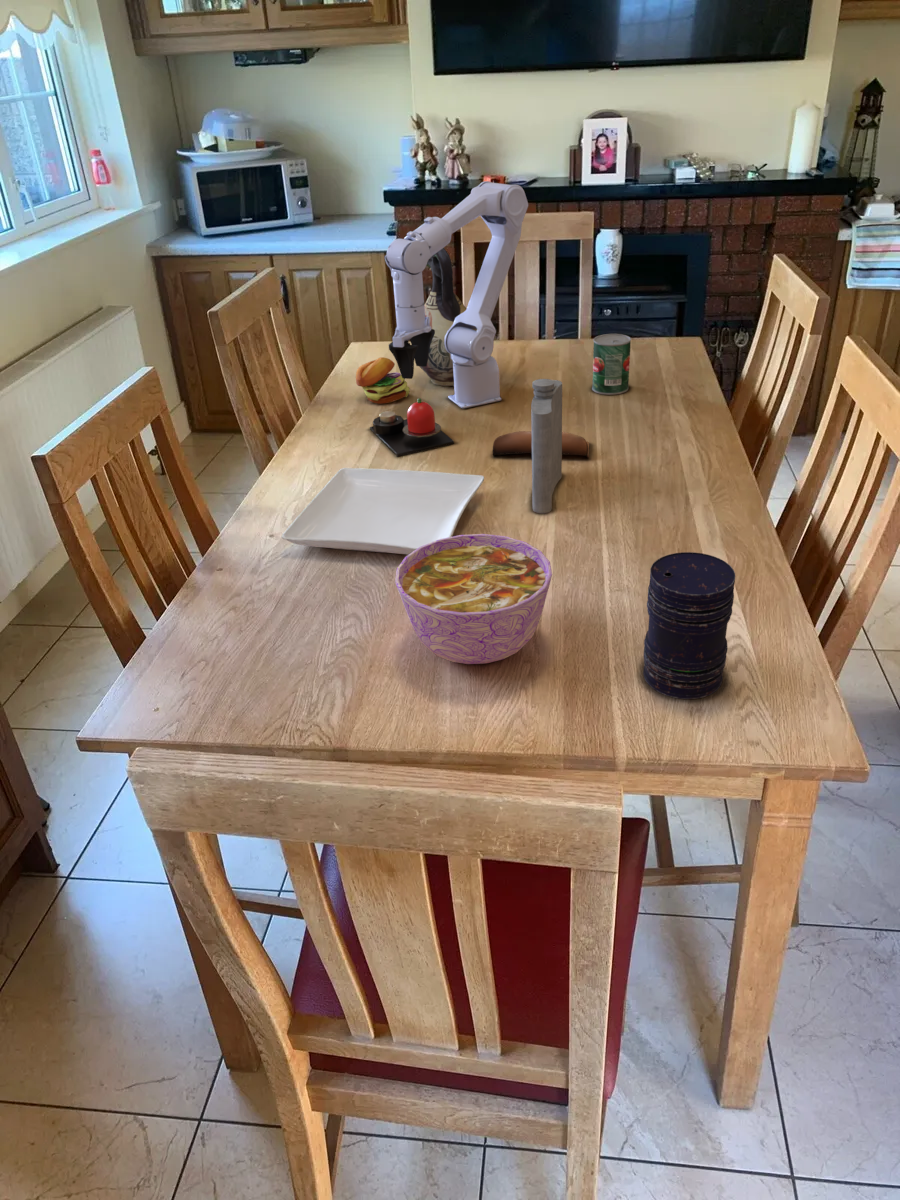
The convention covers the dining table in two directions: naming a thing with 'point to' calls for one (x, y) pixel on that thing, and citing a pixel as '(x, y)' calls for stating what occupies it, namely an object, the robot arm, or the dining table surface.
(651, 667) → the storage jar
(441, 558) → the bowl of food
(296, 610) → the dining table surface
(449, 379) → the ceramic jug
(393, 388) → the cheeseburger
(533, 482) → the hip flask
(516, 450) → the sunglasses case
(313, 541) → the square plate
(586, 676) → the dining table surface
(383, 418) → the hob button
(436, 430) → the burner
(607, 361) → the canned tomato
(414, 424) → the pepper
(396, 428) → the hob
